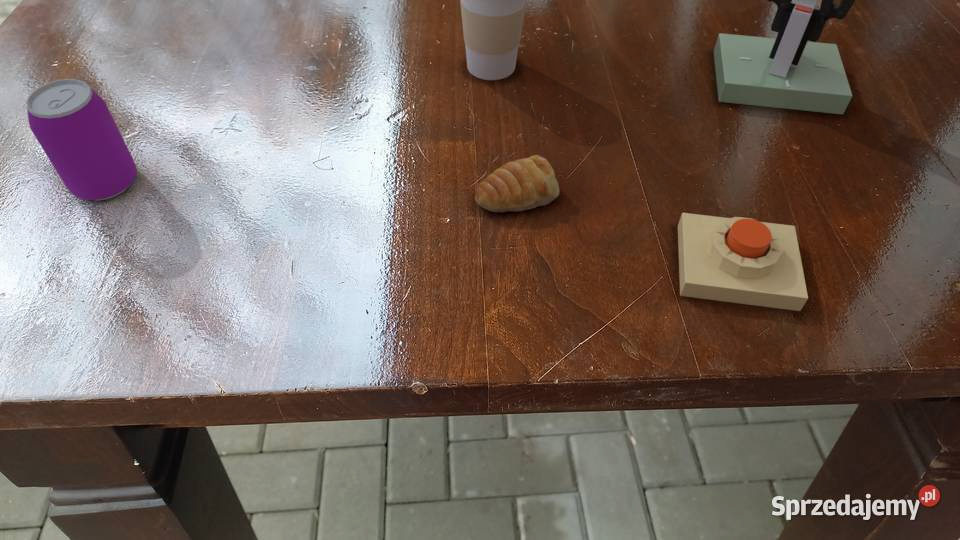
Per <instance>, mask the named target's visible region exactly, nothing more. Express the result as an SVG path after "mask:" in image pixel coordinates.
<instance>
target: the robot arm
mask: <svg viewBox="0 0 960 540" xmlns="http://www.w3.org/2000/svg"><path fill="white" fill-rule="evenodd" d="M767 1H768V2H769V3H774V4H775V5H776V12H775V15H774V16H773V17H774V18H773V19H772V23H771V26H770V30H771V31H772V32H775V33H777V35H776V40H775V43H774V46H773V48H772V51H771V53H770V56H769V58H771V59H774V58H775V55H776V53H777V50H778V47H779V45H780V42H781V40H782V37H783V34H784V32H785V29H786V27H787V24H788V22H789V19H790V16H791V14H792V11H793V9H794V7H795V5H796V3H794V2H792V1H793V0H767ZM855 2H856V0H840V1H839V3H838V2H837V3H835V0H821V3H820V7H819V9H817V8H815V9H814V11H813V13H812V15H811V18H810V20H809V23H808V25H807V27H806V30H805V32H804V35H803V37H802V39H801V42H800V44H799V47H798V49H797V52H796V54H795V56H794V59H793V61H792V65H796V66H797V65H798V63H799V60H800V58H801V56H802V53H803V51H804V49H805V46H806V44H807V42H818V41H819V40H820V37H821V35H822V33H823V31H824V28H825V25H826V23H827V22H828V21H829V20H831V19H837V20H843V19H845V18H846V16H847V15H848V13H849V11H850V10H851V8H852V7H853V5H854V4H855Z"/></svg>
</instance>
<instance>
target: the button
mask: <svg viewBox="0 0 960 540" xmlns="http://www.w3.org/2000/svg"><path fill="white" fill-rule="evenodd" d="M753 219H754V218H752V219H740V220H738V221H736V222H735V223H733V225H732V227H731V229H730V231H729V234H728V236H727V245H728V247H729V248H730V250H731V251H732V252H734V253H736V254H738V255H739V256H741V257H744V258H752V259H754V258H758V257H761V256H762V255H764V253H765V252H766V250H767V248H768V246H769V244H770V242H771V240H772V235H771V232H770V230H769V229H768V227H767V226H765V225H764V224H763V223H761V222H762V221H759V220H757V219H755V220H753Z"/></svg>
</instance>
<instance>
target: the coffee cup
mask: <svg viewBox="0 0 960 540" xmlns="http://www.w3.org/2000/svg"><path fill="white" fill-rule="evenodd" d="M527 1H528V0H459V3H460V12H461V23H462V33H463V41H464V44H465V46H464V47H465V57H466V67H467V71H468V72H469V73H470V74H471V75H472V76H474V77H475V78H478V79H480V80H485V81H499V80H503V79H506V78H508V77H509V76H511V75H513V73H514V72H515V70H516V65H517V58H518V54H519V53H518V51H519V45H520V43H521V40H522V39H521V38H522V32H523V27H524V20H525V14H526V8H527Z"/></svg>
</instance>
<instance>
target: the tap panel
mask: <svg viewBox="0 0 960 540" xmlns="http://www.w3.org/2000/svg"><path fill="white" fill-rule="evenodd" d="M776 38H777V37H776ZM776 38H774V37H763V36H753V35H745V34H744V35H743V34H742V35H741V34H733V33H723V32H722V33H721V32H719V33H718V35H717V38H716V41H715V42H716V43H715V46H714V49H713V57H714V58H713V60H714V69H715V79H716V88H717V97H718V98H717V99H718V102H719V103H725V104H726V103H728V104H737V105H744V106H756V107H765V108H776V109H785V110H793V111H794V110H796V111H803V112H805V111H806V112H814V113H825V114H834V115H844V114H845V112H846V109H847V107H848V106H849V104H850V102H851V101H852V98H853V92H852V90H851V86H850V82H849V79H848V77H847V74H846V73H847V72H846V70H845V67H844V64H843V61H842V58H841V54H840V51H839V48H838V45H837V43H830V42H829V43H827V42H818V41H816V42H812V41H807V44H806V46H805V49H804V51H803V53H802V56H801V58H800V60H799V63H798V65H797V66H796V65H792V64H791V66H790V69H789V71H788V73H787V75H786V78H783V77H780V76H776V75H773V74H769V71H770V68H771V65H772V63H773V60H774V59H771V58H769V56H770V53H771V51H772V48H773V46H774V43H775V40H776Z"/></svg>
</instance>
